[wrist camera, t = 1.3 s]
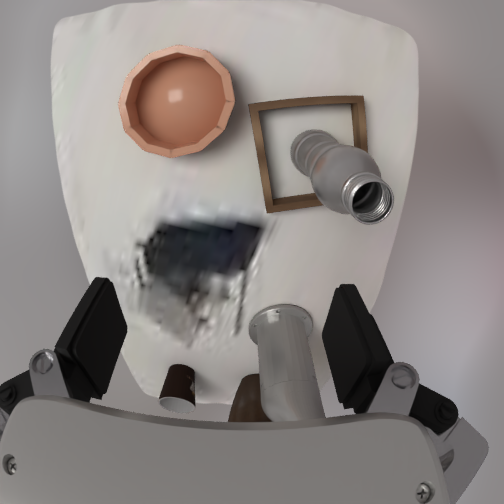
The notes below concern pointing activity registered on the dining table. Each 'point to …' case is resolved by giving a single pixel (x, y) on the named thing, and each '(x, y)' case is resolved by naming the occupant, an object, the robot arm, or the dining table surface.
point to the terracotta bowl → (176, 101)
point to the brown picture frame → (270, 203)
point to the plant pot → (248, 402)
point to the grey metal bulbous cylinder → (342, 176)
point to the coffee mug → (178, 390)
